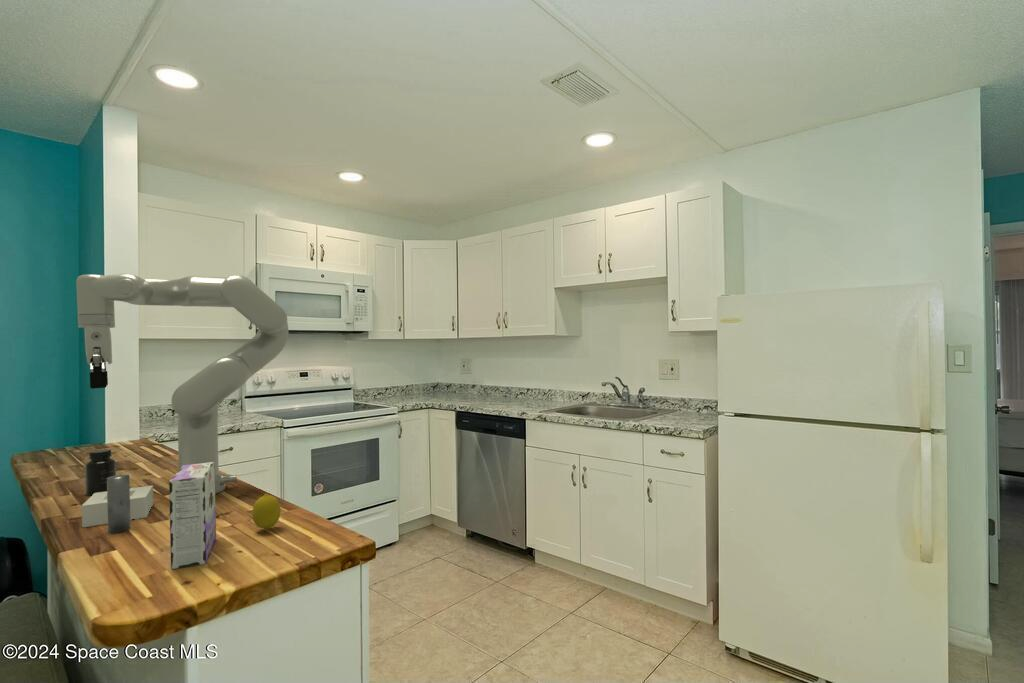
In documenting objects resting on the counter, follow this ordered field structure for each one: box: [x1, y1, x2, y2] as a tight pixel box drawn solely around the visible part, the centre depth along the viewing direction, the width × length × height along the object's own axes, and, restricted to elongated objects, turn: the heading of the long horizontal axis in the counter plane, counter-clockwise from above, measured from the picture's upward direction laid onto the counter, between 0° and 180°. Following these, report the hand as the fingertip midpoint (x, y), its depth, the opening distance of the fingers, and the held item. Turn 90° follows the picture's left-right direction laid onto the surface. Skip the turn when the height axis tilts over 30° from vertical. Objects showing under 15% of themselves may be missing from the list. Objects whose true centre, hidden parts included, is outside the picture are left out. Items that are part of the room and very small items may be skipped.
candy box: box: [168, 462, 217, 570], centre depth 100 cm, size 14×6×16 cm, turn 23°
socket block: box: [81, 485, 154, 528], centre depth 124 cm, size 12×12×5 cm
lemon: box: [252, 493, 281, 531], centre depth 111 cm, size 6×6×8 cm
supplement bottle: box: [84, 448, 117, 496], centre depth 145 cm, size 7×7×12 cm
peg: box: [107, 473, 132, 535], centre depth 114 cm, size 4×4×12 cm
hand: (99, 387), depth 133 cm, fingers open, 9 cm apart
